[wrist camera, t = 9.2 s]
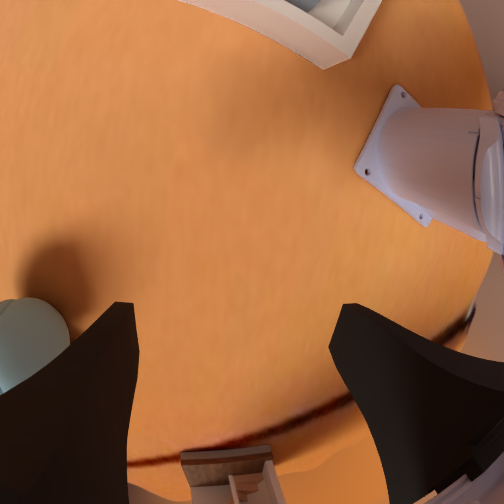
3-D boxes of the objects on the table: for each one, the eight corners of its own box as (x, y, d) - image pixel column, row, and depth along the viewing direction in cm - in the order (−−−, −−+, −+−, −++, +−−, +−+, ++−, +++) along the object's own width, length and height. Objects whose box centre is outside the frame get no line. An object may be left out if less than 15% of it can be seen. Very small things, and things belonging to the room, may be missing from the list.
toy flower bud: (42, 454, 12) (-54, 357, 7) (59, 381, 20) (-2, 282, 15) (109, 464, 14) (6, 363, 8) (117, 380, 21) (59, 269, 16)
